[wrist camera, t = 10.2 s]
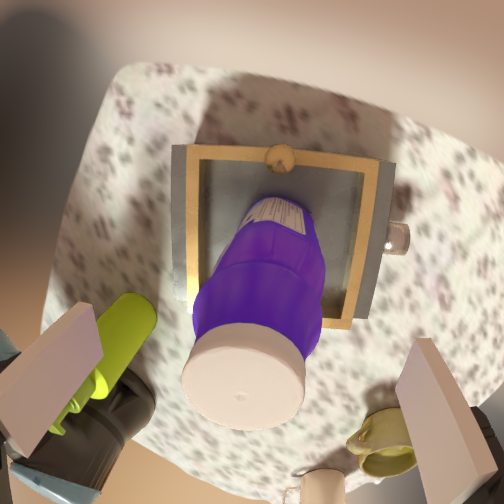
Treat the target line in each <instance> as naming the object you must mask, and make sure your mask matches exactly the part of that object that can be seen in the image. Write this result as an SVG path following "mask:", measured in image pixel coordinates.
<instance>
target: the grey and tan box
mask: <svg viewBox="0 0 504 504" xmlns="http://www.w3.org/2000/svg"><path fill="white" fill-rule="evenodd" d="M395 168H396V163H393V162H389V161H385V160H380V159H375V158H369V157H362V156H355V155H347V154H339V153H331V152H322V151H313V150H303V149H292V148H291V147H290V146H289V145H286V144H277V145H274V146H272V147H266V146H249V145H225V144H181V145H172V156H171V227H172V259H173V280H174V297H175V299H177V300H184V301H188V313H192V310H193V304H194V301H195V298H196V296H197V294H198V292H199V290H200V289H201V288H202V286H203V285H204V284H205V282H206V281H207V280H208V279H209V278H210V275H211V273H212V271H213V269H214V266H215V264H216V262H217V260H218V258H219V257H220V255H221V253H222V251H223V250H224V248H225V247H226V245H227V244H228V243H229V241H230V240H231V239H232V238H233V237H234V235H235V234H236V232H237V230H238V227H239V225H240V223H241V221H242V220H243V218H244V216H245V215H246V213H247V212H248V211H249V209H250V208H251V207H252V206H253V205H254V204H255V203H256V202H258V201H259V200H261V199H263V198H266V197H279V198H283V199H288V200H290V201H292V202H295V203H297V204H298V205H300V206H301V207H302V208H303V209H305V210H306V211H307V212H308V213H309V214H310V216H311V217H312V219H313V221H314V225H315V229H316V233H317V237H318V240H319V244H320V248H321V251H322V255H323V258H324V262H325V269H326V272H325V283H324V288H323V294H322V298H321V300H320V305H321V308H322V328H331V329H345V330H350V327H351V323H352V319H353V318H359V319H368V315H369V311H370V307H371V303H372V299H373V295H374V290H375V286H376V282H377V277H378V273H379V268H380V263H381V258H382V253H383V254H393V255H402V256H404V255H405V254H406V253H407V251H408V248H409V244H410V229H409V226H408V225H407V224H403V223H396V222H388V219H389V213H390V207H391V200H392V193H393V185H394V177H395Z"/></svg>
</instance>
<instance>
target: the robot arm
mask: <svg viewBox="0 0 504 504" xmlns="http://www.w3.org/2000/svg"><path fill="white" fill-rule="evenodd" d="M103 356H104V354H103V350H102V346H101V342H100V337H99V333H98V328H97V324H96V319H95V314H94V309H93V304H89V303H84V302H80V301H79V302H77V303H76V304H75V305H74V306H73V307H72V308H71V309H69V310H68V311H67V312H66V313H65V314H64V315H63V316H61V317H60V318H59V319H58V320H57V321H56V322H55V323H54V324H52V325H51V326H50V327H49V328H48V329H47V330H46V331H45V332H44V333H43V334H41V335H40V336H39V337H38V338H37V339H36V340H35V341H34V342H33V343H32V344H31V345H30V346H29V347H27V349H25V350H24V351H23V352H22V353H21V351H19V350H18V349H17V348H16V347H15V345H14V344H13V343H12V341H11V340H10V339H9V337H8V336H7V334H6V333H5V332H4V331H2V330H1V329H0V504H13V502H12V496H11V489H10V483H9V475H8V466H7V455H8V456H9V457H10V458H11V459H12V460H13V462H11V466H10V471H11V472H12V474H14V475H15V476H16V477H17V478H18V479H19V480H20V481H22V482H23V483H24V484H26V485H27V486H29V487H30V488H32V489H33V490H35V491H36V492H38V493H39V494H41V495H43V496H45V497H46V498H48V499H50V500H52V501H54V502H56V503H58V504H94V503H95V501H96V500H97V498H98V497H99V495H101V493H102V492H101V491H102V489H103V487H104V484H105V483H106V481H107V479H108V476H109V474H110V472H111V470H112V468H113V467H114V465H115V463H116V461H117V459H118V457H119V454H120V453H121V451H122V449H123V447H124V445H125V443H126V442H127V441H128V440H129V439H131V438H132V437H133V436H134V435H136V434H137V433H138V432H139V431H140V430H141V429H142V428H144V427H145V426H146V425H147V424H148V423H149V421H150V419H151V417H152V415H153V413H154V410H155V403H154V399H153V397H152V395H151V393H150V391H149V389H148V388H147V387H146V385H145V384H144V383H143V382H142V381H141V380H140V379H139V378H138V377H137V376H136V375H135V374H134V373H133V372H132V371H130V370H129V369H128V368H126V369H125V370H124V372H123V373H122V375H121V376H120V378H119V379H118V381H117V382H116V384H115V385H114V387H113V388H112V389H111V391H110V392H109V394H108V395H107V397H105V398H104V399H93V398H90V399H89V400H88V401H87V403H86V404H85V406H84V407H83V408H82V410H81V411H80V412H79V413H72V412H68V413H67V415H66V416H65V417H64V419H63V420H62V422H61V423H60V425H61V426H62V427H63V429H64V430H65V431H66V432H65V434H64V435H59V434H55V433H52V432H50V431H49V430H48V429H49V428H50V426H51V425H52V423H53V422H54V421H55V419H56V418H57V417H58V415H59V414H60V413H61V411H62V410H63V408H64V407H65V406H66V404H67V403H68V402H69V400H70V399H71V398H72V396H73V395H74V394H75V392H76V391H77V390H78V388H79V387H80V386H81V384H82V383H83V382H84V381H85V379H86V378H87V377H88V375H89V374H90V373H91V371H92V370H93V369H94V368H95V366H96V365H97V364H98V362H99V361H100V360H101V359H102V357H103ZM395 392H396V395H397V398H398V401H399V404H400V407H401V410H402V413H403V416H404V419H405V422H406V426H407V429H408V432H409V436H410V439H411V442H412V446H413V449H414V453H415V456H416V460H417V464H418V467H419V471H420V475H421V479H422V483H423V487H424V490H425V495H426V499H427V504H504V451H503V449H502V447H501V445H500V443H499V441H498V439H497V437H495V433H494V431H493V429H492V428H491V425H490V423H489V421H488V419H487V417H486V415H485V414H484V413H483V412H482V411H481V410H480V409H479V408H478V407H477V406H475V407H469V405H468V403H467V401H466V400H465V398H464V396H463V394H462V392H461V390H460V388H459V386H458V385H457V383H456V381H455V379H454V377H453V375H452V374H451V372H450V370H449V368H448V367H447V365H446V363H445V361H444V360H443V358H442V356H441V354H440V353H439V351H438V349H437V348H436V346H435V344H434V343H433V341H432V339H431V338H415V339H414V342H413V345H412V348H411V350H410V353H409V355H408V358H407V361H406V363H405V366H404V368H403V371H402V373H401V375H400V378H399V380H398V383H397V385H396V387H395ZM6 454H7V455H6Z"/></svg>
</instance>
